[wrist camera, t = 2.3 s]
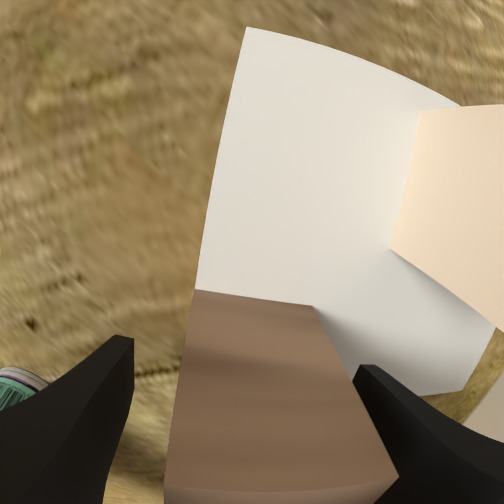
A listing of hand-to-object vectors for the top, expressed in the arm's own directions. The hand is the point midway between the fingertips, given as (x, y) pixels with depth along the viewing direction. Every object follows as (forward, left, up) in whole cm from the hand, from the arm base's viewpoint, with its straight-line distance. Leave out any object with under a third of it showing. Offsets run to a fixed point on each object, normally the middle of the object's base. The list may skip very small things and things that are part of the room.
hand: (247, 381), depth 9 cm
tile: (+7, -5, -2) cm, 9 cm away
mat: (+4, -6, -2) cm, 7 cm away
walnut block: (0, 0, -2) cm, 2 cm away
